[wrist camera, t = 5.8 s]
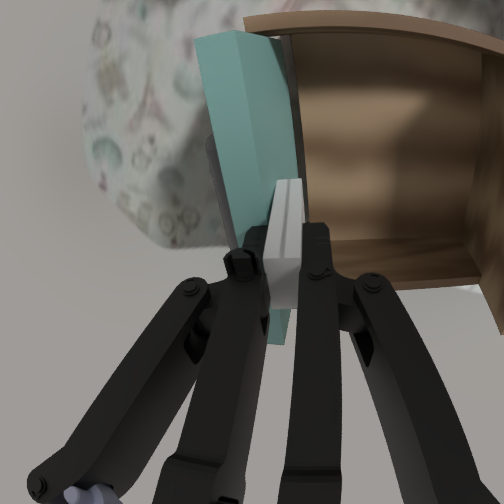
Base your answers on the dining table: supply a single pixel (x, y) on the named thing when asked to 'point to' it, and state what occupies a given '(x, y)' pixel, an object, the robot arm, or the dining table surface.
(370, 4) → the dining table surface
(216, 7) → the dining table surface
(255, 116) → the panel
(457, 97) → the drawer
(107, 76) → the dining table surface
